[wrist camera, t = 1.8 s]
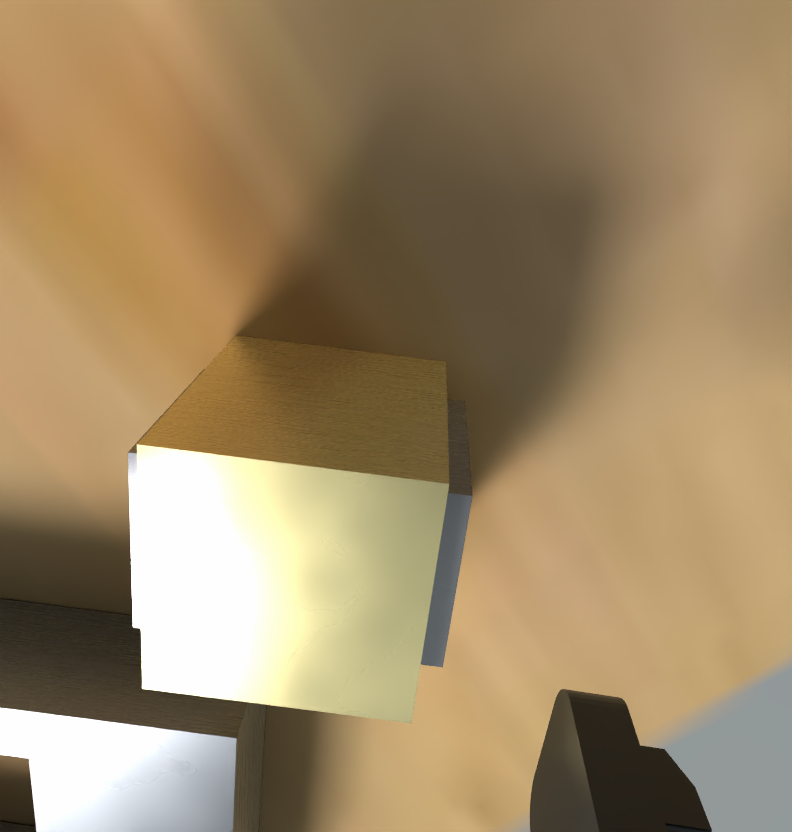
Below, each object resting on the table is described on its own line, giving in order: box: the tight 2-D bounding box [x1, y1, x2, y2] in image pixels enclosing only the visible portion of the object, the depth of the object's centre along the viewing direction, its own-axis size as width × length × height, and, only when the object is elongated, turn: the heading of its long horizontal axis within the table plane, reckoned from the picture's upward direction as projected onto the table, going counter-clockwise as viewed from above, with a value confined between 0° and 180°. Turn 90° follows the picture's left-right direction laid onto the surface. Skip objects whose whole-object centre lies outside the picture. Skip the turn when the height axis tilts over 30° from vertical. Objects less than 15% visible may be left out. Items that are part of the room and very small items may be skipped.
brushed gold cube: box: [128, 335, 472, 723], centre depth 12 cm, size 4×5×5 cm
